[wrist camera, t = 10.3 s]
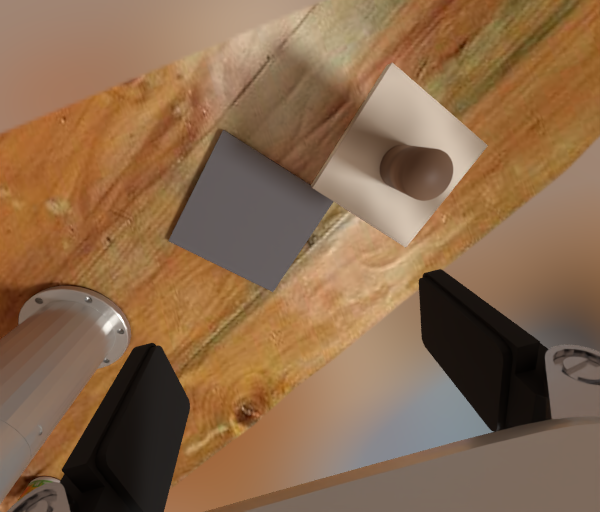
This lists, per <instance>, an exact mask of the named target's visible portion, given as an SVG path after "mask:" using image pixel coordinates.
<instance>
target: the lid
mask: <svg viewBox="0 0 600 512" xmlns="http://www.w3.org/2000/svg"><path fill="white" fill-rule="evenodd" d="M487 146H488V145H487V144H485V143H484V142H483V141H482V140H481V139H480V138H479V137H477V136H476V135H475V134H474V133H473V132H472V131H470V130H469V129H468V128H467V127H466V126H465V125H464V124H462V123H461V122H460V121H459V120H458V119H457V118H456V117H454V116H453V115H452V114H451V113H450V112H449V111H447V110H446V109H445V108H444V107H443V106H442V105H441V104H439V103H438V102H437V101H436V100H435V99H434V98H433V97H431V96H430V95H429V94H428V93H427V92H426V91H425V90H423V89H422V88H421V87H420V86H419V85H418V84H416V83H415V82H414V81H413V80H412V79H411V78H410V77H408V76H407V75H406V74H405V73H404V72H403V71H402V70H400V69H399V68H398V67H397V66H396V65H395V64H394V63H391V64H389V65H387V66H386V68H385V69H384V71H383V72H382V74H381V75H380V77H379V79H378V80H377V82H376V83H375V85H374V86H373V88H372V90H371V91H370V93H369V94H368V96H367V98H366V99H365V101H364V102H363V104H362V105H361V107H360V109H359V110H358V112H357V113H356V115H355V116H354V118H353V120H352V121H351V123H350V124H349V126H348V128H347V129H346V131H345V132H344V134H343V135H342V137H341V139H340V140H339V142H338V143H337V145H336V146H335V148H334V150H333V151H332V153H331V154H330V156H329V158H328V159H327V161H326V162H325V164H324V165H323V167H322V169H321V170H320V172H319V173H318V175H317V177H316V178H315V180H314V181H313V183H312V184H311V187H312V188H313V189H315V190H316V191H318V192H319V193H321V194H323V195H324V196H326V197H327V198H329V199H330V200H332V201H334V202H335V203H337V204H338V205H340V206H341V207H343V208H345V209H346V210H348V211H349V212H351V213H352V214H354V215H356V216H357V217H359V218H360V219H362V220H363V221H365V222H367V223H368V224H370V225H371V226H373V227H374V228H376V229H377V230H379V231H381V232H382V233H384V234H385V235H387V236H388V237H390V238H392V239H393V240H395V241H396V242H398V243H399V244H401V245H403V246H404V247H407V246H408V244H409V243H410V242H411V241H412V239H413V238H414V237H415V236H416V234H417V233H418V232H419V231H420V229H421V228H422V227H423V226H424V224H425V223H426V222H427V221H428V219H429V218H430V217H431V216H432V215H433V213H434V212H435V211H436V210H437V208H438V207H439V206H440V205H441V203H442V202H443V201H444V200H445V198H446V197H447V196H448V195H449V193H450V192H451V191H452V190H453V188H454V187H455V186H456V185H457V183H458V182H459V181H460V180H461V178H462V177H463V176H464V175H465V173H466V172H467V171H468V170H469V169H470V167H471V166H472V165H473V164H474V162H475V161H476V160H477V159H478V157H479V156H480V155H481V154H482V152H483V151H484V150H485V149H486V147H487Z"/></svg>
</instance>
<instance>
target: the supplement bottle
mask: <svg viewBox="0 0 600 512" xmlns="http://www.w3.org/2000/svg"><path fill="white" fill-rule="evenodd" d="M51 482H58V483H60V480H58V479H56V478H53V477H46V476H44V477H38V478H36V479H34V480H32V481H31V482H30V483H29V485H28V486H27V488H26V489H25V491H24V492H23V494H22V495H21V496H20V498H19V499H18V501H19V500H20V499H21V498H22V497H24V496H25V495H26V494H28V493H29V492H31V491H32V490H34V489H35V488H37V487H40V486H42V485H44V484H46V483H51ZM18 501H17V502H18ZM17 502H16V503H17Z"/></svg>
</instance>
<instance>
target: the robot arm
mask: <svg viewBox="0 0 600 512" xmlns="http://www.w3.org/2000/svg"><path fill="white" fill-rule="evenodd" d="M419 294H420V311H421V332H422V340H423V343H424V345H425V347H426V348H427V350H428V351H429V352H430V354H431V355H432V356H433V357H434V359H435V360H436V361H437V362H438V364H439V365H440V366H441V367H442V369H443V370H444V371H445V373H446V374H447V375H448V376H449V378H450V379H451V380H452V382H453V383H454V384H455V385H456V387H457V388H458V389H459V390H460V392H461V393H462V394H463V395H464V397H465V398H466V399H467V401H468V402H469V403H470V404H471V405H472V407H473V408H474V409H475V411H476V412H477V413H478V415H479V416H480V417H481V418H482V420H483V421H484V422H485V424H486V425H487V426H488V427H489V428H490V429H491V430H492V431H494V432H492V433H488V434H484V435H481V436H476V437H473V438H469V439H465V440H461V441H457V442H453V443H450V444H446V445H443V446H439V447H435V448H431V449H428V450H424V451H420V452H417V453H413V454H410V455H406V456H402V457H398V458H395V459H391V460H387V461H384V462H380V463H376V464H373V465H369V466H365V467H362V468H358V469H355V470H351V471H348V472H344V473H340V474H337V475H333V476H330V477H326V478H322V479H319V480H315V481H312V482H308V483H305V484H301V485H297V486H294V487H290V488H287V489H283V490H279V491H276V492H272V493H269V494H265V495H261V496H258V497H255V498H251V499H247V500H244V501H241V502H237V503H233V504H230V505H226V506H223V507H219V508H216V509H212V510H209V511H205V512H600V352H598V351H596V350H593V349H590V348H586V347H582V346H577V345H557V346H555V347H552V348H550V349H547V348H546V347H545V346H543V345H542V344H541V343H540V341H538V340H537V339H535V338H534V337H533V336H532V335H530V334H528V333H527V332H526V331H525V330H523V329H522V328H521V327H519V326H518V325H517V324H515V323H514V322H512V321H511V320H510V319H508V318H507V317H506V316H504V315H503V314H501V313H500V312H499V311H497V310H496V309H495V308H493V307H492V306H490V305H489V304H488V303H486V302H485V301H484V300H482V299H481V298H480V297H478V296H477V295H476V294H474V293H473V292H472V291H470V290H469V289H467V288H466V287H465V286H463V285H462V284H461V283H459V282H458V281H457V280H455V279H454V278H452V277H451V276H450V275H448V274H447V273H445V272H444V271H443V270H441V269H439V270H435V271H431V272H427V273H424V274H423V278H420V279H419ZM18 324H19V325H18V326H17V327H16V328H14V329H13V330H12V331H10V332H9V333H8V334H7V335H5V336H4V337H3V338H1V339H0V504H1V503H2V501H3V500H4V498H5V497H6V495H7V494H8V493H9V491H10V490H11V488H12V487H13V486H14V484H15V483H16V481H17V480H18V479H19V477H20V476H21V474H22V473H23V471H24V470H25V469H26V467H27V466H28V464H29V463H30V462H31V460H32V459H33V457H34V456H35V455H36V453H37V452H38V450H39V449H40V448H41V446H42V445H43V444H44V442H45V441H46V439H47V438H48V437H49V435H50V434H51V432H52V431H53V430H54V428H55V427H56V425H57V424H58V423H59V421H60V420H61V418H62V417H63V416H64V414H65V413H66V412H67V410H68V409H69V407H70V406H71V405H72V403H73V402H74V400H75V399H76V398H77V396H78V395H79V393H80V392H81V391H82V389H83V388H84V387H85V385H86V384H87V382H88V381H89V380H90V378H91V377H92V375H93V374H94V373H95V371H96V370H97V369H98V368H102V367H105V366H108V365H110V364H112V363H114V362H115V361H117V360H118V359H119V358H120V357H121V356H122V355H123V353H124V352H125V350H126V349H127V347H128V345H129V343H130V338H131V329H130V325H129V322H128V320H127V318H126V316H125V314H124V313H123V312H122V311H121V309H120V308H119V307H118V306H117V305H116V304H114V303H113V302H112V301H111V300H109V299H108V298H106V297H105V296H103V295H101V294H99V293H97V292H94V291H92V290H89V289H85V288H82V287H76V286H56V287H51V288H47V289H45V290H42V291H40V292H39V293H37V294H35V295H34V296H32V297H31V298H30V299H29V300H28V301H26V302H25V304H24V305H23V307H22V308H21V310H20V313H19V319H18ZM189 410H190V403H189V399H188V397H187V395H186V393H185V391H184V389H183V387H182V386H181V384H180V382H179V380H178V378H177V376H176V374H175V372H174V370H173V368H172V366H171V364H170V362H169V361H168V359H167V357H166V355H165V353H164V351H163V349H162V347H161V346H156V345H155V344H154V343H150V344H146V345H142V346H138V347H135V348H134V349H133V350H132V352H131V353H130V355H129V357H128V359H127V360H126V362H125V364H124V365H123V367H122V369H121V370H120V372H119V374H118V375H117V377H116V379H115V381H114V382H113V384H112V386H111V387H110V389H109V391H108V392H107V394H106V396H105V397H104V399H103V401H102V403H101V404H100V406H99V408H98V409H97V411H96V413H95V414H94V416H93V418H92V419H91V421H90V423H89V425H88V426H87V428H86V430H85V431H84V433H83V435H82V436H81V438H80V440H79V441H78V443H77V445H76V447H75V448H74V450H73V452H72V453H71V455H70V457H69V458H68V460H67V462H66V463H65V465H64V467H63V469H62V471H63V472H64V476H63V478H62V479H61V481H60V483H58V482H51V483H46V484H44V485H42V486H40V487H37V488H35V489H34V490H32V491H31V492H29V493H28V494H26V495H25V496H24V497H22V498H21V499H20V500H19V501H18V502H17V503H15V504H14V505H13V506H12V507H11V508H10V509H9V510H8V511H7V512H164V509H165V505H166V501H167V496H168V493H169V489H170V485H171V481H172V477H173V473H174V469H175V465H176V461H177V457H178V454H179V450H180V446H181V442H182V438H183V434H184V430H185V426H186V422H187V418H188V414H189Z"/></svg>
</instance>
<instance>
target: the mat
mask: <svg viewBox="0 0 600 512" xmlns="http://www.w3.org/2000/svg"><path fill="white" fill-rule="evenodd" d="M332 203H333V201H332V200H330V199H329V198H327V197H326V196H324V195H323V194H321V193H319V192H318V191H316V190H315V189H313V188H312V187H311V185H309V184H308V183H306V182H305V181H303V180H302V179H300V178H298V177H297V176H295V175H294V174H292V173H291V172H289V171H287V170H286V169H284V168H283V167H281V166H280V165H278V164H276V163H275V162H273V161H272V160H270V159H269V158H267V157H265V156H264V155H262V154H261V153H259V152H258V151H256V150H254V149H253V148H251V147H250V146H248V145H247V144H245V143H243V142H242V141H240V140H239V139H237V138H236V137H234V136H232V135H231V134H229V133H228V132H226V131H225V130H223V131H222V133H221V135H220V137H219V139H218V141H217V143H216V145H215V147H214V150H213V152H212V154H211V156H210V158H209V160H208V162H207V164H206V166H205V168H204V170H203V172H202V174H201V176H200V178H199V180H198V182H197V184H196V186H195V188H194V190H193V192H192V194H191V196H190V198H189V200H188V202H187V204H186V206H185V208H184V210H183V212H182V214H181V216H180V218H179V220H178V222H177V224H176V226H175V228H174V231H173V233H172V235H171V237H170V239H169V242H171V243H174V244H176V245H178V246H180V247H182V248H184V249H186V250H188V251H190V252H192V253H194V254H196V255H198V256H200V257H202V258H204V259H206V260H208V261H210V262H212V263H215V264H217V265H219V266H221V267H223V268H225V269H227V270H229V271H231V272H233V273H235V274H237V275H239V276H241V277H243V278H245V279H247V280H249V281H251V282H253V283H256V284H258V285H260V286H262V287H264V288H266V289H268V290H270V291H272V292H273V291H274V290H275V288H276V287H277V285H278V284H279V282H280V281H281V279H282V278H283V276H284V275H285V273H286V272H287V270H288V269H289V267H290V266H291V264H292V263H293V261H294V260H295V258H296V257H297V255H298V254H299V252H300V251H301V249H302V248H303V246H304V245H305V243H306V242H307V240H308V239H309V237H310V236H311V234H312V233H313V231H314V230H315V228H316V227H317V225H318V224H319V222H320V221H321V219H322V218H323V216H324V215H325V213H326V212H327V210H328V209H329V207H330V206H331V204H332Z"/></svg>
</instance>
